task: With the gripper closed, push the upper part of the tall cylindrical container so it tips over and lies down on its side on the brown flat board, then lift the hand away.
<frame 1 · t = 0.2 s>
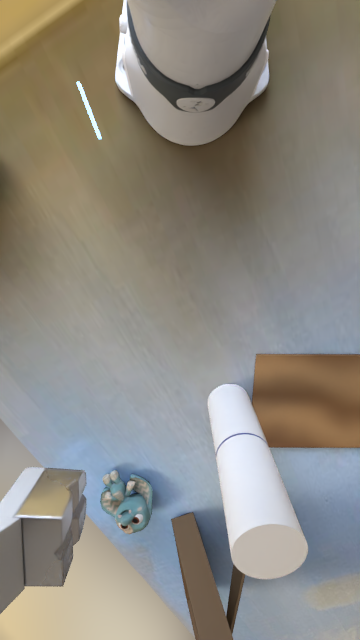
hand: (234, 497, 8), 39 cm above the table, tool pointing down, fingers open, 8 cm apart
photo frame: (214, 549, 63), on the table
stuffed animal: (128, 488, 58), on the table
brown flat board: (336, 402, 53), on the table
cylindrical container: (228, 401, 53), on the table
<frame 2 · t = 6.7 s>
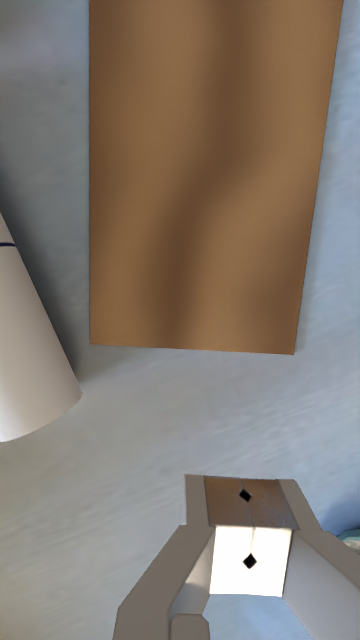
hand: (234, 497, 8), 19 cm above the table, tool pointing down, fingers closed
stuffed animal: (357, 556, 33), on the table
brown flat board: (204, 173, 24), on the table
cylindrical container: (40, 414, 25), point 4 cm above the table
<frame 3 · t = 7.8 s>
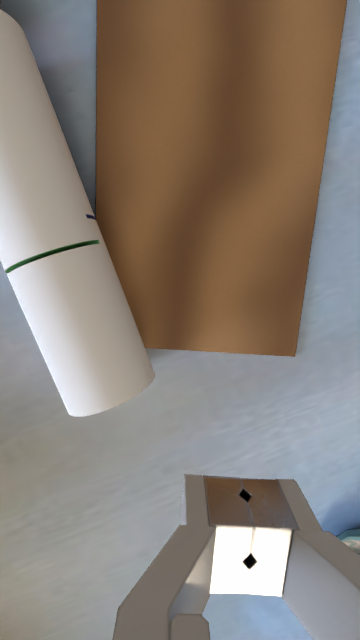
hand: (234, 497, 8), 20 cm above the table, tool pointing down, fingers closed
stuffed animal: (357, 555, 33), on the table
brown flat board: (208, 178, 25), on the table
cylindrical container: (113, 392, 24), point 4 cm above the table, touching brown flat board
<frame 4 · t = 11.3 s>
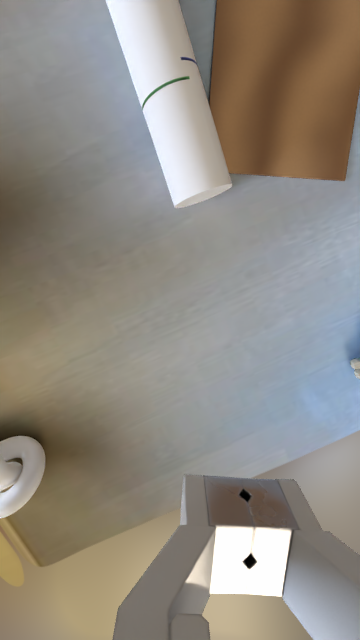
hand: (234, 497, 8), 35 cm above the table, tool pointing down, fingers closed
white knot sculpture: (17, 450, 47), on the table
brown flat board: (289, 45, 36), on the table
cylindrical container: (203, 198, 37), point 4 cm above the table, touching brown flat board
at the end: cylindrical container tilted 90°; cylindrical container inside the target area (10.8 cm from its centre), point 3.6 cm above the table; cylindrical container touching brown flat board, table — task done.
